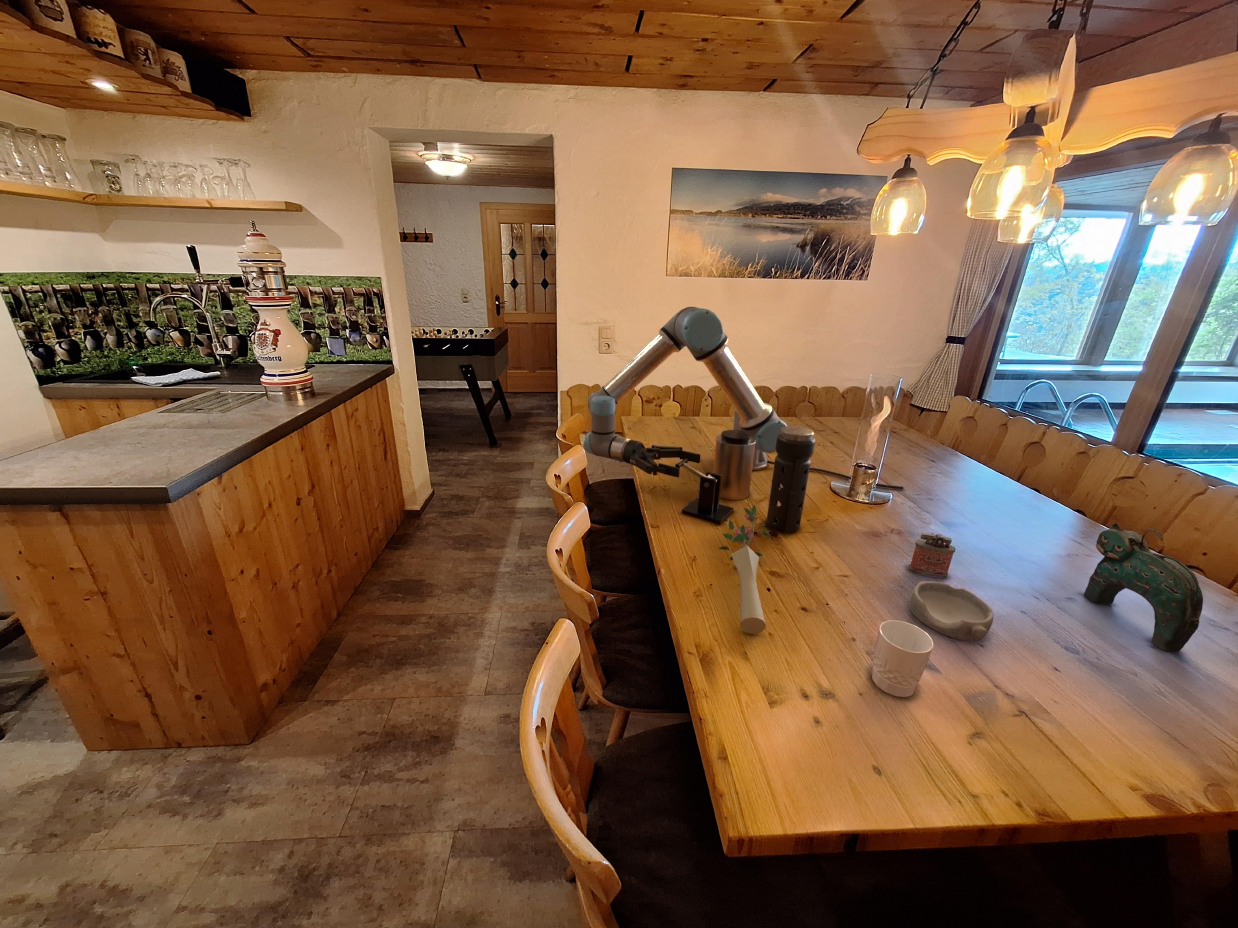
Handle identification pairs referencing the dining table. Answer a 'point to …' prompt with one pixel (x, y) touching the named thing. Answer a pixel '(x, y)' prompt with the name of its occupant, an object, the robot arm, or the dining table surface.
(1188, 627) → the ceramic cat
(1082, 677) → the dining table surface
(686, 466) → the switch lever
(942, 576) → the lighter
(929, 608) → the dish
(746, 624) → the flower vase
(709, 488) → the switch base
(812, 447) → the muzzle brake
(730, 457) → the metal tumbler
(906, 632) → the white cup
